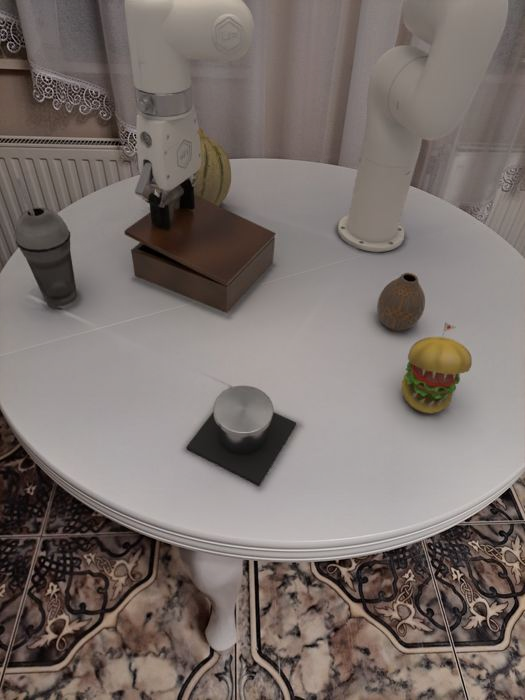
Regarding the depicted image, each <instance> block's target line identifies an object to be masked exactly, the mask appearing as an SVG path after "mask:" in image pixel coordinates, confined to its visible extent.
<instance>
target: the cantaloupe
mask: <svg viewBox="0 0 525 700" xmlns="http://www.w3.org/2000/svg"><path fill="white" fill-rule="evenodd" d="M198 128H199V136H200V146H201V167H200V169H199V170H198V171H197V172H196V174H195V179H196V182H195V184H194V185H192V186H193V187H194V195H196V196H198V197H200V198H203V199H205V200H207V201H209V202H211V203H213V204H215V205H217V206H219V207H220V205H222V203H223V202H224V201H225V199H227V196H228V194H229V192H230V188H231V183H232V168H231V163H230V159H229V157H228V154H227V153H226V150H225V149H224V148H223V147H222V146H221V145H220V144H219V143H218V142H217V141H216V140H214V139H212V138H210V137H208V136H206V135H204V130H203V129H202V128H201V127H198ZM155 182H156V181H155ZM155 192H156V193H157V196H159V194H160V189H157V188H155Z"/></svg>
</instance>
